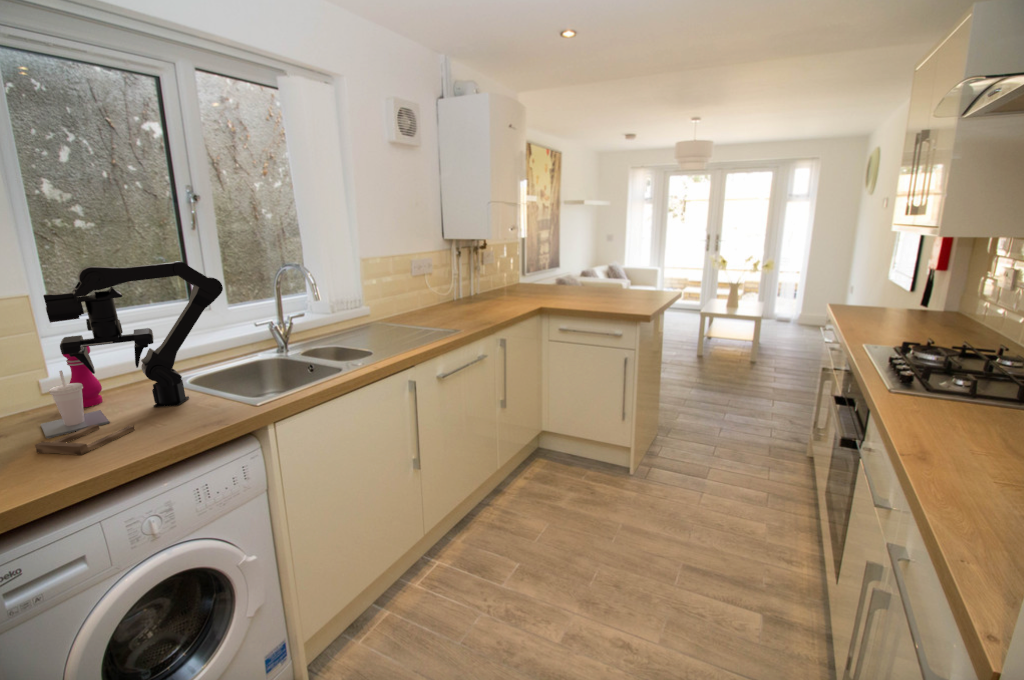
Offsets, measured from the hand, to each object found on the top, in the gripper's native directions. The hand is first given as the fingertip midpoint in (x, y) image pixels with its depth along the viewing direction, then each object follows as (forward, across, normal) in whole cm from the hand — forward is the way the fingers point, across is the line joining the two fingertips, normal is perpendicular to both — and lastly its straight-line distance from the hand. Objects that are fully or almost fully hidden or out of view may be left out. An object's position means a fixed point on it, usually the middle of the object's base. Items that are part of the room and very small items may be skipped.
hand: (116, 370), depth 132 cm
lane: (+8, +6, +22) cm, 24 cm away
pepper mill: (+14, +9, -10) cm, 20 cm away
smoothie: (+10, +10, +7) cm, 16 cm away
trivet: (+11, +10, +7) cm, 16 cm away
